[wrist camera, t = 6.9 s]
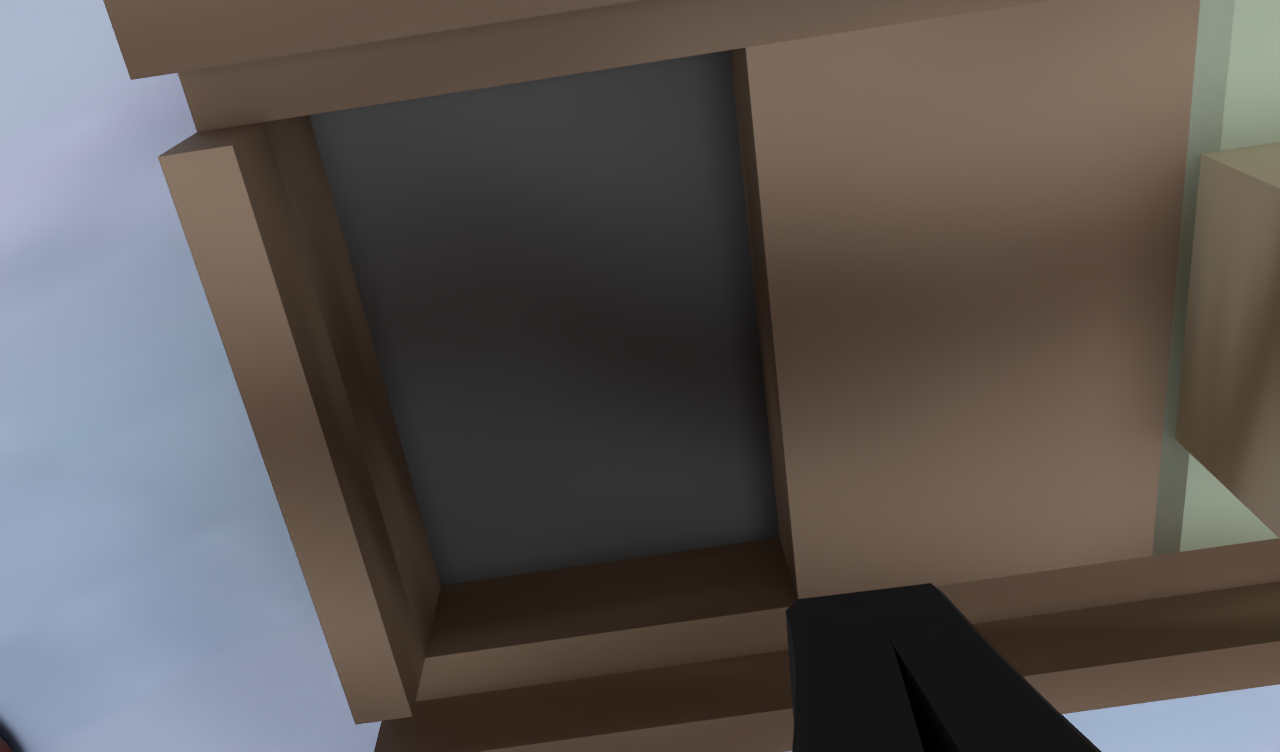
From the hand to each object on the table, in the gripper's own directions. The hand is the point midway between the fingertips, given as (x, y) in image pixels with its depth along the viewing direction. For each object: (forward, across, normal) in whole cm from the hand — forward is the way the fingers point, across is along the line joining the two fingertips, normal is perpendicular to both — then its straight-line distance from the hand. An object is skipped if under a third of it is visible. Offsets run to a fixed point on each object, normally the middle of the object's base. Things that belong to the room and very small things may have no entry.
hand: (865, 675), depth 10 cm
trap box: (+10, -6, 0) cm, 12 cm away
